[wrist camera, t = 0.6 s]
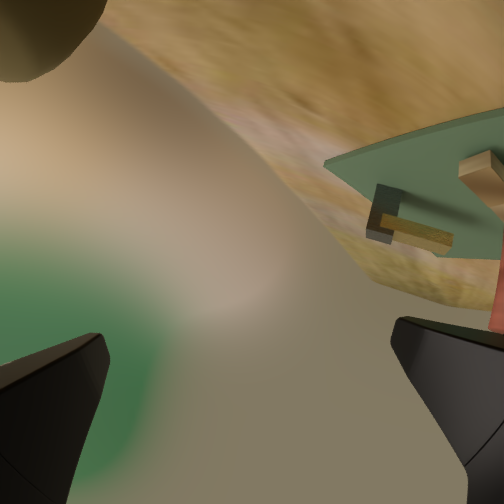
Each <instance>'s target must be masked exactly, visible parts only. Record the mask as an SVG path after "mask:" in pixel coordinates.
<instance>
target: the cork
mask: <svg viewBox="0 0 504 504" xmlns="http://www.w3.org/2000/svg"><path fill="white" fill-rule="evenodd" d="M106 3H107V0H0V81H3V82H28V81H31V80H33V79H35V78H38V77H39V76H41V75H43V74H45V73H47V72H49V71H51V70H53V69H55V68H56V67H57V66H58V65H60V64H61V63H62V62H63V61H64V60H66V59H67V58H68V57H69V56H70V55H71V54H72V53H73V52H74V50H75V49H76V48H77V47H78V46H79V44H80V43H81V42H82V41H83V40H84V39H85V38H86V36H87V35H88V34H89V33H90V32H91V31H92V30H93V28H94V27H95V25H96V23H97V22H98V20H99V18H100V17H101V15H102V13H103V11H104V8H105V5H106Z"/></svg>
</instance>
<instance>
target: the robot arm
mask: <svg viewBox="0 0 504 504" xmlns="http://www.w3.org/2000/svg"><path fill="white" fill-rule="evenodd" d="M390 342H391V346H392V348H393V350H394V352H395V354H396V356H397V358H398V360H399V361H400V364H401V366H402V367H403V369H404V371H405V373H406V375H407V377H408V378H409V380H410V382H411V383H412V385H413V386H414V388H415V389H416V391H417V392H418V394H419V395H420V397H421V398H422V400H423V401H424V403H425V404H426V406H427V407H428V409H429V410H430V412H431V414H432V415H433V417H434V418H435V420H436V422H437V423H438V425H439V426H440V428H441V430H442V431H443V433H444V434H445V436H446V438H447V439H448V441H449V443H450V444H451V446H452V447H453V449H454V451H455V453H456V454H457V456H458V458H459V459H460V461H461V463H462V465H463V466H464V468H465V470H466V473H467V476H468V494H467V504H504V334H501V333H495V332H489V331H483V330H478V329H472V328H466V327H461V326H456V325H451V324H445V323H440V322H435V321H430V320H425V319H420V318H415V317H410V316H405V317H399V318H398V319H397V320H396V322H395V325H394V329H393V332H392V336H391V341H390ZM109 365H110V355H109V352H108V349H107V346H106V342H105V339H104V337H103V335H102V334H100V333H88V334H85V335H82V336H80V337H77V338H74V339H72V340H69V341H66V342H64V343H61V344H58V345H55V346H53V347H50V348H47V349H44V350H42V351H39V352H36V353H34V354H31V355H28V356H25V357H22V358H20V359H17V360H14V361H12V362H8V363H6V364H3V365H0V504H66V502H67V498H68V494H69V491H70V487H71V484H72V480H73V477H74V474H75V470H76V467H77V464H78V461H79V458H80V455H81V452H82V449H83V446H84V443H85V440H86V437H87V434H88V431H89V428H90V426H91V423H92V420H93V418H94V415H95V412H96V409H97V407H98V404H99V401H100V399H101V395H102V392H103V388H104V384H105V380H106V376H107V372H108V368H109Z"/></svg>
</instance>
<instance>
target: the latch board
mask: <svg viewBox="0 0 504 504" xmlns="http://www.w3.org/2000/svg"><path fill="white" fill-rule="evenodd" d="M488 150H491V151H492V152H493V153H494V155H495V156H496V157H497V158H498V159H499V161H500V162H501V163H502V164H503V165H504V108H500V109H496V110H492V111H488V112H483V113H479V114H475V115H471V116H467V117H463V118H460V119H456V120H452V121H448V122H445V123H441V124H438V125H434V126H431V127H427V128H424V129H420V130H417V131H414V132H410V133H407V134H404V135H400V136H397V137H394V138H391V139H388V140H385V141H382V142H378V143H375V144H372V145H369V146H366V147H363V148H360V149H357V150H355V151H352V152H349V153H346V154H343V155H340V156H337V157H334V158H332V159H329V160H326V161H325V162H324V165H323V167H325V168H326V169H328V170H329V171H330V172H332V173H333V174H335V175H336V176H337V177H339V178H340V179H342V180H343V181H344V182H346V183H347V184H349V185H350V186H351V187H353V188H354V189H355V190H357V191H358V192H359V193H361V194H362V195H363V196H365V197H366V198H367V199H369V200H370V201H371V202H372V203H373V199H374V195H375V190H376V186H377V183H378V184H382V185H386V186H390V187H394V188H398V189H402V190H403V191H402V196H401V202H400V207H399V212H398V216H397V217H399V218H403V219H406V220H410V221H413V222H417V223H420V224H424V225H427V226H430V227H434V228H437V229H440V230H444V231H447V232H450V233H453V234H454V237H453V243H452V248H451V249H450V250H449V251H448V252H447V253H446V254H445V255H441V254H438V253H435V252H432V253H433V254H434V255H435V256H436V257H446V258H469V259H492V260H501V253H502V243H503V230H504V223H503V221H502V220H501V219H500V218H499V217H498V216H497V215H496V214H495V213H494V212H493V210H492V209H491V208H490V207H487V205H486V204H485V203H484V202H483V201H482V200H481V199H480V198H479V197H478V196H477V195H476V194H475V193H474V192H473V191H472V190H470V189H469V188H468V187H467V186H466V185H465V184H464V183H463V182H462V181H461V180H460V179H459V178H458V175H459V161H462V160H465V159H467V158H470V157H472V156H475V155H478V154H480V153H483V152H485V151H488Z"/></svg>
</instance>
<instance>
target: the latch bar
mask: <svg viewBox="0 0 504 504" xmlns="http://www.w3.org/2000/svg"><path fill="white" fill-rule="evenodd" d="M458 178H459V179H460V180H461V181H462V182H463V183H464V184H465V185H466V186H467V187H468V188H469V189H470V190H472V191H473V192H474V193H475V194H476V195H477V196H478V197H479V198H480V199H481V200H482V201H483V202H484V203H485V204H486V205H487V207H490V208H491V209H492V210H493V212H494V213H495V214H496V215H497V216H498V217H499V218H500V219H501V220H502V221H503V223H504V165H503V164H502V163H501V162H500V161H499V159H498V158H497V157H496V156H495V155H494V153H493V152H492V151H491V150H488V151H485V152H483V153H480V154H478V155H475V156H472V157H470V158H467V159H465V160H462V161H459V175H458ZM488 329H489V330H491V331H493V332H496V333H501V334H504V230H503V243H502V253H501V262H500V269H499V276H498V283H497V288H496V294H495V299H494V304H493V309H492V313H491V318H490V322H489V326H488Z"/></svg>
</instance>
